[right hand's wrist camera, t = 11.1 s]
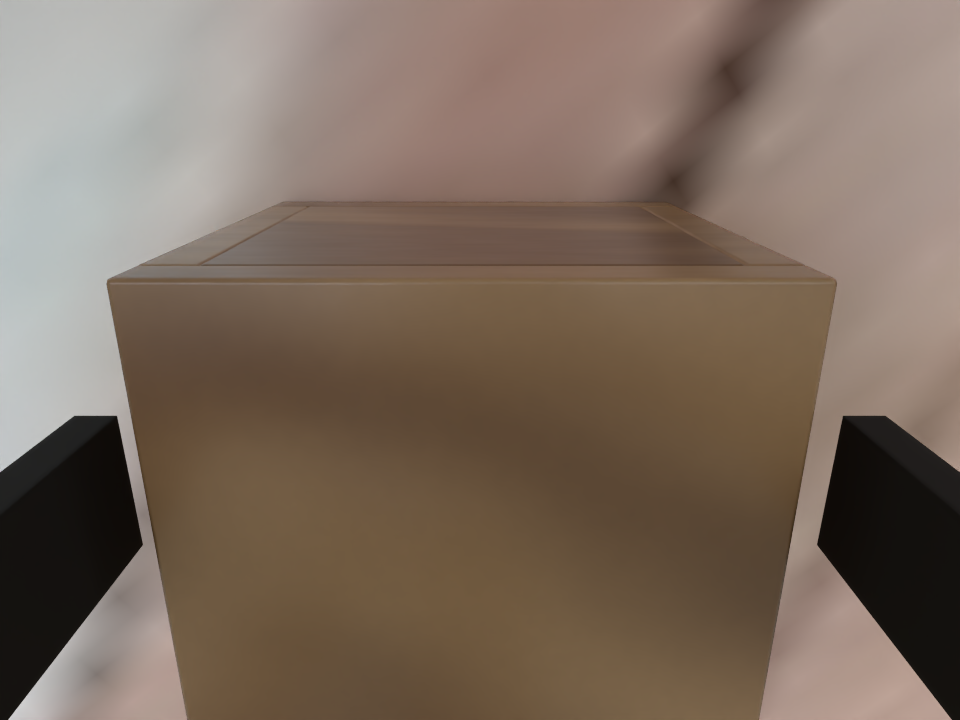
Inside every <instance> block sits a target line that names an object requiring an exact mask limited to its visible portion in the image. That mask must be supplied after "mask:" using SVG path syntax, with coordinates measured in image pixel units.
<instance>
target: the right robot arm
mask: <svg viewBox="0 0 960 720" xmlns="http://www.w3.org/2000/svg"><path fill="white" fill-rule="evenodd" d="M142 545H143V543H142V538H141V533H140V528H139V523H138V518H137V513H136V508H135V503H134V498H133V493H132V488H131V483H130V478H129V473H128V468H127V464H126V459H125V454H124V449H123V444H122V439H121V434H120V429H119V424H118V419H117V416H74V417H72V418H71V419H70V420H69V421H67V422H66V423H65V424H63V425H62V426H61V427H59V428H58V429H57V430H55V431H54V432H53V433H51V434H50V435H49V436H47V437H46V438H45V439H44V440H42V441H41V442H40V443H38V444H37V445H36V446H34V447H33V448H32V449H30V450H29V451H28V452H26V453H25V454H24V455H22V456H21V457H20V458H19V459H17V460H16V461H15V462H13V463H12V464H11V465H9V466H8V467H7V468H5V469H4V470H3V471H1V472H0V720H8V719H9V718H10V717H11V715H12V714H13V713H14V711H15V710H16V709H17V707H18V706H19V705H20V704H21V702H22V701H23V700H24V698H25V697H26V696H27V694H28V693H29V692H30V691H31V689H32V688H33V687H34V685H35V684H36V683H37V681H38V680H39V679H40V678H41V676H42V675H43V674H44V672H45V671H46V670H47V669H48V667H49V666H50V665H51V663H52V662H53V661H54V659H55V658H56V657H57V656H58V654H59V653H60V652H61V650H62V649H63V648H64V646H65V645H66V644H67V643H68V641H69V640H70V639H71V637H72V636H73V635H74V634H75V632H76V631H77V630H78V628H79V627H80V626H81V624H82V623H83V622H84V621H85V619H86V618H87V617H88V615H89V614H90V613H91V611H92V610H93V609H94V608H95V606H96V605H97V604H98V602H99V601H100V600H101V598H102V597H103V596H104V595H105V593H106V592H107V591H108V589H109V588H110V587H111V586H112V584H113V583H114V582H115V580H116V579H117V578H118V576H119V575H120V574H121V573H122V571H123V570H124V569H125V567H126V566H127V565H128V563H129V562H130V561H131V560H132V558H133V557H134V556H135V554H136V553H137V552H138V551H139V549H140V548H141V547H142ZM817 545H818V547H819V548H820V549H821V551H822V552H823V553H824V554H825V556H826V557H827V558H828V560H829V561H830V562H831V563H832V565H833V566H834V567H835V569H836V570H837V571H838V573H839V574H840V575H841V576H842V578H843V579H844V580H845V582H846V583H847V584H848V586H849V587H850V588H851V589H852V591H853V592H854V593H855V595H856V596H857V597H858V598H859V600H860V601H861V602H862V604H863V605H864V606H865V608H866V609H867V610H868V611H869V613H870V614H871V615H872V617H873V618H874V619H875V621H876V622H877V623H878V624H879V626H880V627H881V628H882V630H883V631H884V632H885V634H886V635H887V636H888V637H889V639H890V640H891V641H892V643H893V644H894V645H895V646H896V648H897V649H898V650H899V652H900V653H901V654H902V656H903V657H904V658H905V659H906V661H907V662H908V663H909V665H910V666H911V667H912V669H913V670H914V671H915V672H916V674H917V675H918V676H919V678H920V679H921V680H922V681H923V683H924V684H925V685H926V687H927V688H928V689H929V691H930V692H931V693H932V694H933V696H934V697H935V698H936V700H937V701H938V702H939V704H940V705H941V706H942V707H943V709H944V710H945V711H946V713H947V714H948V715H949V717H950V718H951V719H952V720H960V472H959V471H957V470H956V469H955V468H953V467H952V466H951V465H949V464H948V463H947V462H945V461H944V460H943V459H941V458H940V457H939V456H938V455H936V454H935V453H934V452H932V451H931V450H930V449H928V448H927V447H926V446H924V445H923V444H922V443H920V442H919V441H918V440H916V439H915V438H914V437H913V436H911V435H910V434H909V433H907V432H906V431H905V430H903V429H902V428H901V427H899V426H898V425H897V424H895V423H894V422H893V421H891V420H890V419H889V418H888V417H886V416H843V419H842V424H841V429H840V434H839V439H838V444H837V449H836V454H835V459H834V464H833V468H832V473H831V478H830V483H829V488H828V493H827V498H826V503H825V508H824V513H823V518H822V523H821V528H820V533H819V538H818V543H817Z"/></svg>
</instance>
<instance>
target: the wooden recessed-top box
mask: <svg viewBox="0 0 960 720" xmlns="http://www.w3.org/2000/svg"><path fill="white" fill-rule="evenodd" d="M836 286H837V282H836V279H834V278H832V277H830V276H828V275H825V274H823V273H821V272H819V271H817V270H814V269H812V268H810V267H808V266H805V265H803V264H801V263H799V262H797V261H795V260H792V259H790V258H788V257H786V256H783V255H781V254H779V253H777V252H775V251H772V250H770V249H768V248H766V247H764V246H761V245H759V244H757V243H755V242H753V241H750V240H748V239H746V238H744V237H741V236H739V235H737V234H735V233H733V232H730V231H728V230H726V229H724V228H722V227H719V226H717V225H715V224H713V223H711V222H708V221H706V220H704V219H702V218H699V217H697V216H695V215H693V214H691V213H688V212H686V211H684V210H682V209H680V208H677V207H675V206H673V205H671V204H669V203H666V202H282V203H280V204H277V205H275V206H273V207H270V208H268V209H266V210H263V211H261V212H259V213H257V214H254V215H252V216H250V217H247V218H245V219H243V220H241V221H238V222H236V223H234V224H232V225H229V226H227V227H225V228H222V229H220V230H218V231H216V232H213V233H211V234H209V235H206V236H204V237H202V238H200V239H197V240H195V241H193V242H191V243H188V244H186V245H184V246H181V247H179V248H177V249H175V250H172V251H170V252H168V253H165V254H163V255H161V256H159V257H156V258H154V259H152V260H150V261H147V262H145V263H143V264H140V265H139V266H137V267H134V268H132V269H130V270H128V271H125V272H123V273H121V274H119V275H116V276H114V277H112V278H109V279H108V280H107V289H108V294H109V300H110V305H111V310H112V316H113V321H114V327H115V332H116V337H117V343H118V348H119V353H120V359H121V364H122V370H123V375H124V380H125V386H126V391H127V397H128V402H129V407H130V413H131V418H132V424H133V429H134V434H135V440H136V445H137V451H138V456H139V461H140V467H141V472H142V477H143V483H144V488H145V494H146V499H147V504H148V510H149V515H150V521H151V526H152V531H153V537H154V542H155V548H156V553H157V558H158V564H159V569H160V574H161V580H162V585H163V591H164V596H165V601H166V607H167V612H168V618H169V623H170V628H171V634H172V639H173V645H174V650H175V655H176V661H177V666H178V672H179V677H180V682H181V688H182V693H183V698H184V704H185V709H186V715H187V720H759V716H760V710H761V705H762V699H763V693H764V688H765V682H766V677H767V671H768V665H769V660H770V654H771V649H772V643H773V638H774V632H775V626H776V621H777V615H778V610H779V604H780V598H781V593H782V587H783V582H784V576H785V571H786V565H787V559H788V554H789V548H790V543H791V537H792V531H793V526H794V520H795V515H796V509H797V503H798V498H799V492H800V487H801V481H802V476H803V470H804V464H805V459H806V453H807V448H808V442H809V436H810V431H811V425H812V420H813V414H814V409H815V403H816V397H817V392H818V386H819V381H820V375H821V369H822V364H823V358H824V353H825V347H826V342H827V336H828V330H829V325H830V319H831V314H832V308H833V302H834V297H835V291H836Z"/></svg>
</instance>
